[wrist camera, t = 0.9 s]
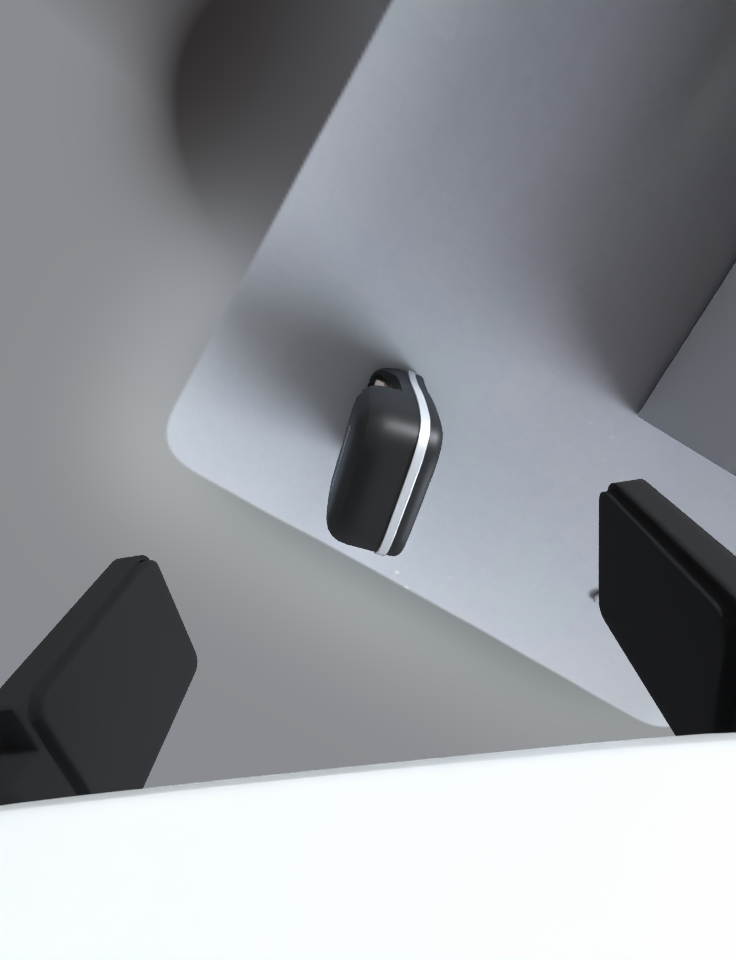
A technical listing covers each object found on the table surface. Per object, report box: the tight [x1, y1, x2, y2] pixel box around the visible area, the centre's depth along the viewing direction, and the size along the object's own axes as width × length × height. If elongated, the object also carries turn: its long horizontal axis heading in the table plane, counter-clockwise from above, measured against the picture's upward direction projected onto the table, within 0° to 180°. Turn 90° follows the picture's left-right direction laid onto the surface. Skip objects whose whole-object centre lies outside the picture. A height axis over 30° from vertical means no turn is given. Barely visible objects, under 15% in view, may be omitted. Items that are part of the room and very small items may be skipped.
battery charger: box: [326, 368, 443, 556], centre depth 25 cm, size 7×4×11 cm, turn 163°
